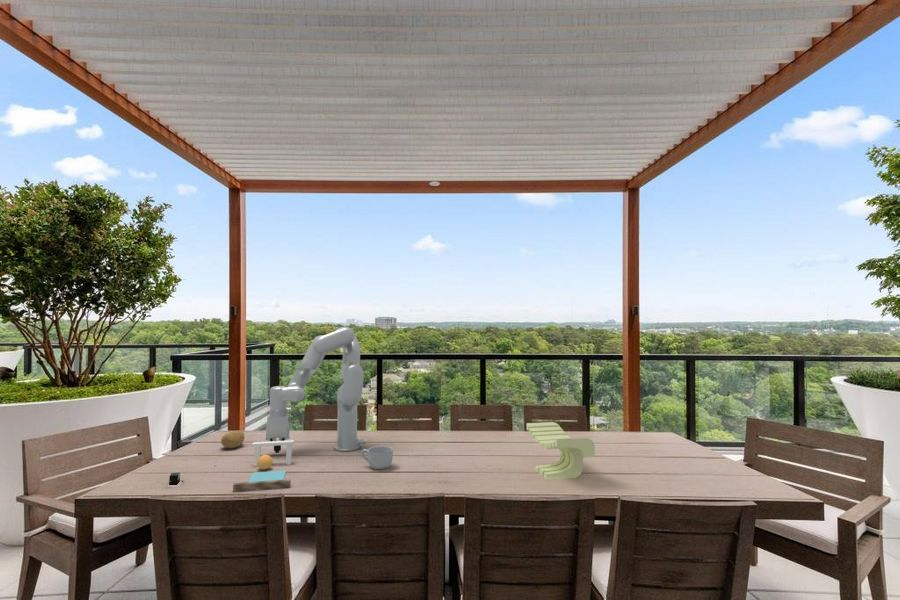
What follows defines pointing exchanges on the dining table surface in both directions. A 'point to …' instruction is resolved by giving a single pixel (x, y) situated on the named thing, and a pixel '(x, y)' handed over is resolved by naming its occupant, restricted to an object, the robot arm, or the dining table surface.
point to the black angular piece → (174, 478)
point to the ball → (264, 462)
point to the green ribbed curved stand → (561, 450)
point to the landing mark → (267, 476)
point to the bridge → (274, 443)
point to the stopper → (262, 485)
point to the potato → (233, 439)
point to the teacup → (379, 456)
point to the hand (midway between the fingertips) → (277, 452)
